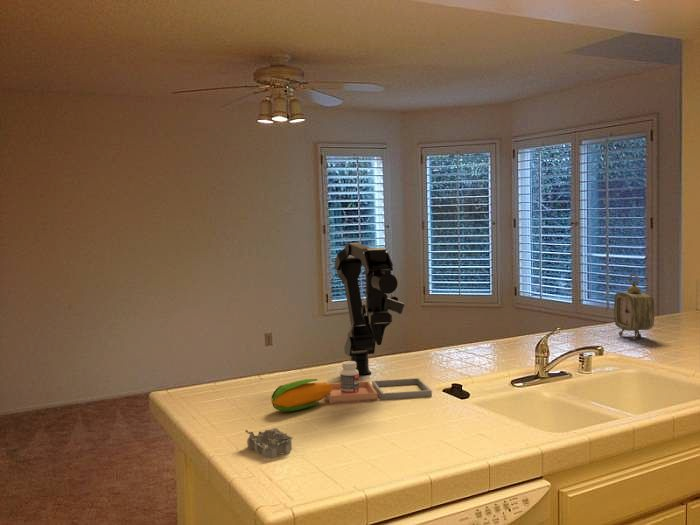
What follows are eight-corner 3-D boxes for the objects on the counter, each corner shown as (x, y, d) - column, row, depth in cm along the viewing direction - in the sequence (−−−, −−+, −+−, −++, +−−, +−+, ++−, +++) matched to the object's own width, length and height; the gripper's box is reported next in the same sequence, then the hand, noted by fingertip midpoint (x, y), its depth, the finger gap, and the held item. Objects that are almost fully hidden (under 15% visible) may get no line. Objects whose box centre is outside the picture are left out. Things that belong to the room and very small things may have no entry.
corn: (264, 383, 170) (323, 369, 183) (263, 411, 171) (322, 395, 184) (281, 390, 164) (340, 375, 178) (280, 419, 165) (340, 402, 179)
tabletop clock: (613, 334, 262) (614, 273, 261) (635, 333, 263) (635, 272, 262) (633, 341, 248) (633, 276, 246) (655, 340, 249) (656, 275, 247)
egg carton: (243, 447, 146) (243, 429, 146) (273, 440, 150) (272, 422, 150) (265, 461, 137) (264, 442, 137) (296, 453, 142) (295, 434, 141)
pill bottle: (357, 396, 182) (356, 364, 181) (339, 395, 183) (338, 364, 182) (360, 391, 187) (360, 360, 186) (343, 390, 188) (342, 360, 187)
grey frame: (372, 386, 194) (372, 380, 194) (418, 383, 196) (418, 377, 196) (381, 399, 180) (381, 393, 180) (431, 396, 182) (431, 390, 182)
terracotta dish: (324, 390, 190) (324, 383, 190) (368, 387, 192) (368, 381, 192) (329, 403, 177) (329, 396, 177) (377, 400, 179) (377, 393, 179)
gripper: (409, 292, 185) (409, 346, 187) (395, 285, 204) (396, 334, 205) (370, 294, 184) (371, 348, 185) (360, 286, 202) (361, 336, 204)
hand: (376, 341), depth 195 cm, fingers open, 9 cm apart
